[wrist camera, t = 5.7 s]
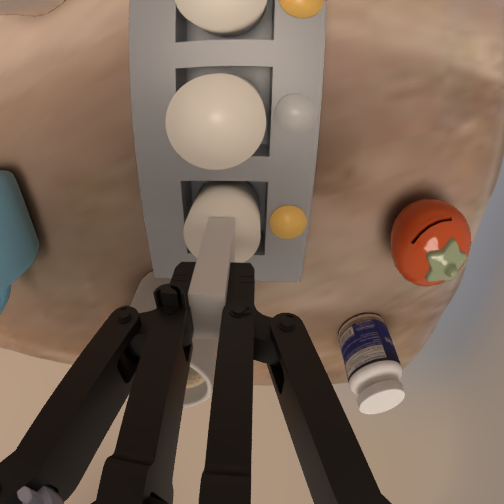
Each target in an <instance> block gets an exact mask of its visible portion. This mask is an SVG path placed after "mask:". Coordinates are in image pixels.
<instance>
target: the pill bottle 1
mask: <svg viewBox="0 0 504 504" xmlns="http://www.w3.org/2000/svg"><path fill="white" fill-rule="evenodd" d="M64 1H65V0H0V15H20V16H39V15H43V14H46V13H48V12H50V11H52V10H54V9H55V8H57V7H58V6H59V5H61V4H62V3H63V2H64Z"/></svg>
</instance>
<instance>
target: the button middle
mask: <svg viewBox="0 0 504 504" xmlns="http://www.w3.org/2000/svg"><path fill="white" fill-rule="evenodd" d="M165 125H166V132H167V136H168V138H169V141H170V143H171V145H172V147H173V148H174V149H175V151H176V152H177V153H178V154H179V155H180V156H181V157H182V158H183V159H184V160H186V161H187V162H189V163H191V164H193V165H195V166H197V167H200V168H204V169H209V170H222V169H228V168H231V167H234V166H237V165H239V164H241V163H242V162H244V161H246V160H247V159H248V158H249V157H251V156H252V155H253V154H254V153H255V151H256V150H257V149H258V147H259V146H260V144H261V142H262V140H263V137H264V134H265V130H266V114H265V109H264V104H263V100H262V97H261V95H260V93H259V91H258V90H257V88H256V87H255V86H254V85H253V84H252V83H251V82H250V81H249V80H247V79H245V78H244V77H241V76H239V75H236V74H232V73H216V74H208V75H203V76H200V77H197V78H194V79H193V80H191V81H189V82H187V83H186V84H184V85H183V86H182V87H181V88H180V89H179V90H178V91H177V92H176V93H175V95H174V96H173V98H172V99H171V101H170V103H169V106H168V109H167V112H166V121H165Z"/></svg>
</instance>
